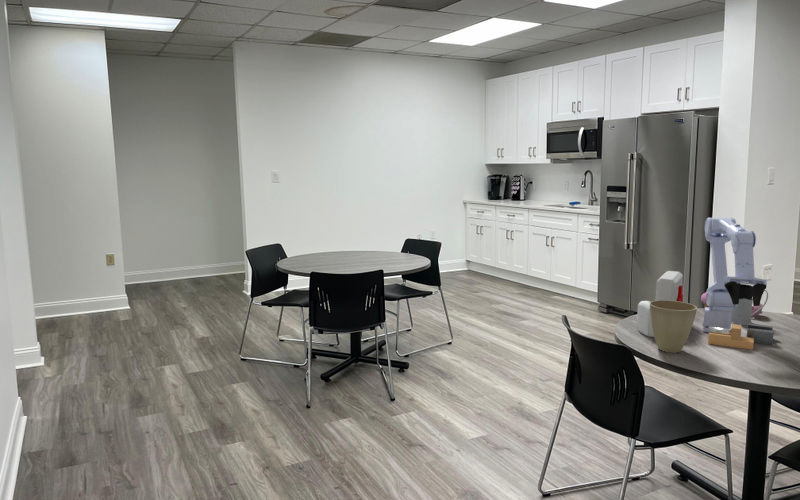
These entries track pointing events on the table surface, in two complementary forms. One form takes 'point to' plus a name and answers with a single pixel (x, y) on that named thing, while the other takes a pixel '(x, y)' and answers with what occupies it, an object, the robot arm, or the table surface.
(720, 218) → the robot arm
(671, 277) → the bevelled white case
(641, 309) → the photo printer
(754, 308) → the pink lumpy figurine
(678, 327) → the plant pot
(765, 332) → the v-block
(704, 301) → the cupcake
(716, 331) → the axle
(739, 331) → the bearing beam
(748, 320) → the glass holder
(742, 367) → the table surface
